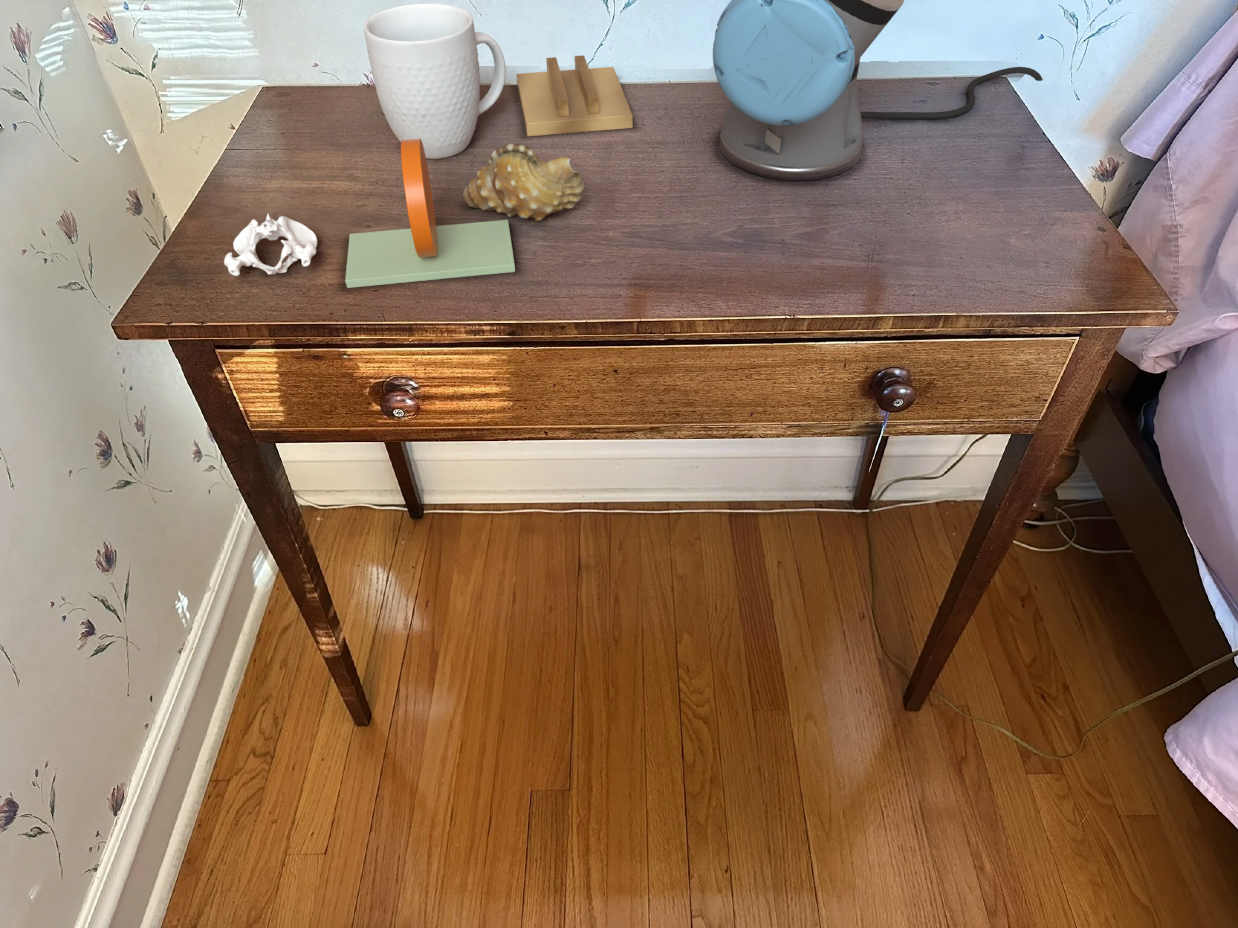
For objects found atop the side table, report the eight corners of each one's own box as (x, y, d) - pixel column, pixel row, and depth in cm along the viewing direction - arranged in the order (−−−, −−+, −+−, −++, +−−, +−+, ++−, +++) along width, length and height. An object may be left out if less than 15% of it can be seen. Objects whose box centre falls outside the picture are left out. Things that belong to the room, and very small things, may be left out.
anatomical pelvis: (215, 254, 77) (220, 210, 81) (231, 293, 80) (236, 248, 84) (310, 243, 78) (311, 199, 82) (322, 281, 81) (323, 238, 85)
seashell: (570, 191, 93) (488, 243, 92) (531, 118, 89) (445, 171, 88) (597, 201, 85) (508, 257, 84) (556, 121, 81) (462, 179, 80)
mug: (482, 106, 106) (468, -13, 97) (536, 138, 100) (526, 14, 91) (369, 143, 100) (342, 19, 90) (420, 180, 94) (397, 51, 84)
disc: (436, 219, 86) (419, 118, 79) (438, 278, 79) (420, 173, 72) (419, 221, 86) (401, 120, 79) (420, 279, 79) (400, 174, 72)
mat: (508, 226, 87) (508, 219, 86) (515, 272, 81) (514, 264, 81) (351, 241, 85) (349, 233, 85) (347, 288, 80) (345, 280, 79)
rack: (613, 79, 112) (613, 50, 109) (632, 128, 102) (632, 97, 99) (517, 86, 110) (514, 57, 108) (527, 136, 101) (524, 106, 98)
